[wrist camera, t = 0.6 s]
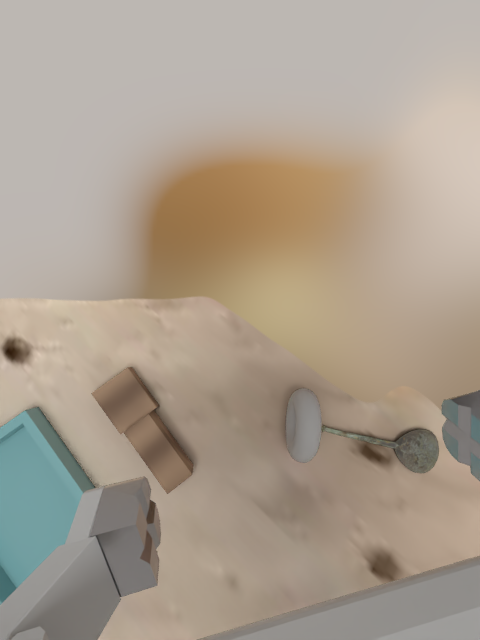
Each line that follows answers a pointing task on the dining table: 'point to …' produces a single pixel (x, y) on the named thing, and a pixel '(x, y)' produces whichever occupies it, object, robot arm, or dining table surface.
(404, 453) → the soupspoon
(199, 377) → the dining table surface
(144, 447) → the stepped brown block
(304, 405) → the donut
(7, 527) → the serving bin
